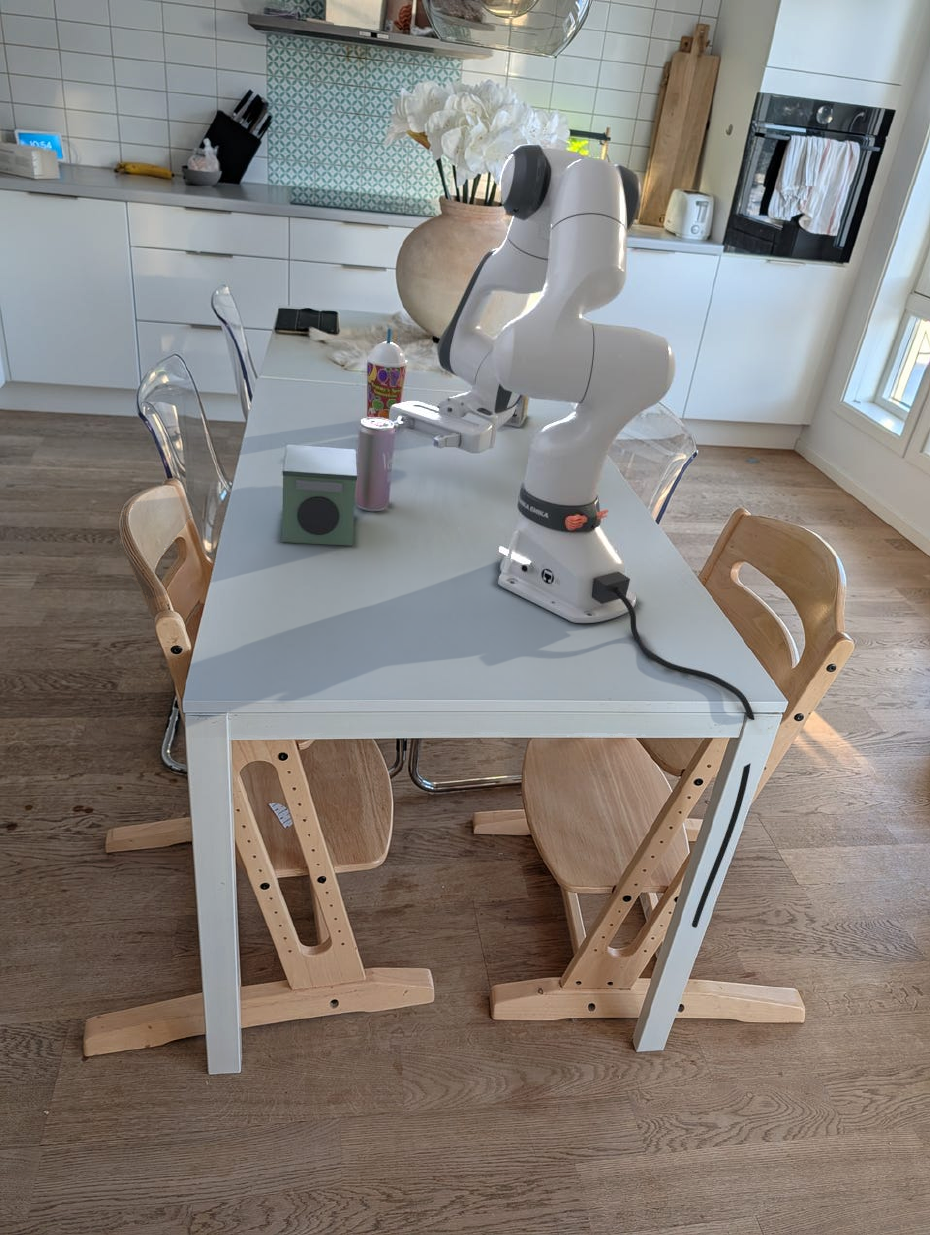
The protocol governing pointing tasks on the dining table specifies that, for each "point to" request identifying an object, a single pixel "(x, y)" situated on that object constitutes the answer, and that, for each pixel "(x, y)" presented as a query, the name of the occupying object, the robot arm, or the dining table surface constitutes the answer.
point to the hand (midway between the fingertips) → (415, 435)
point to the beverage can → (374, 463)
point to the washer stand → (318, 495)
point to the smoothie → (384, 378)
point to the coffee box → (519, 412)
